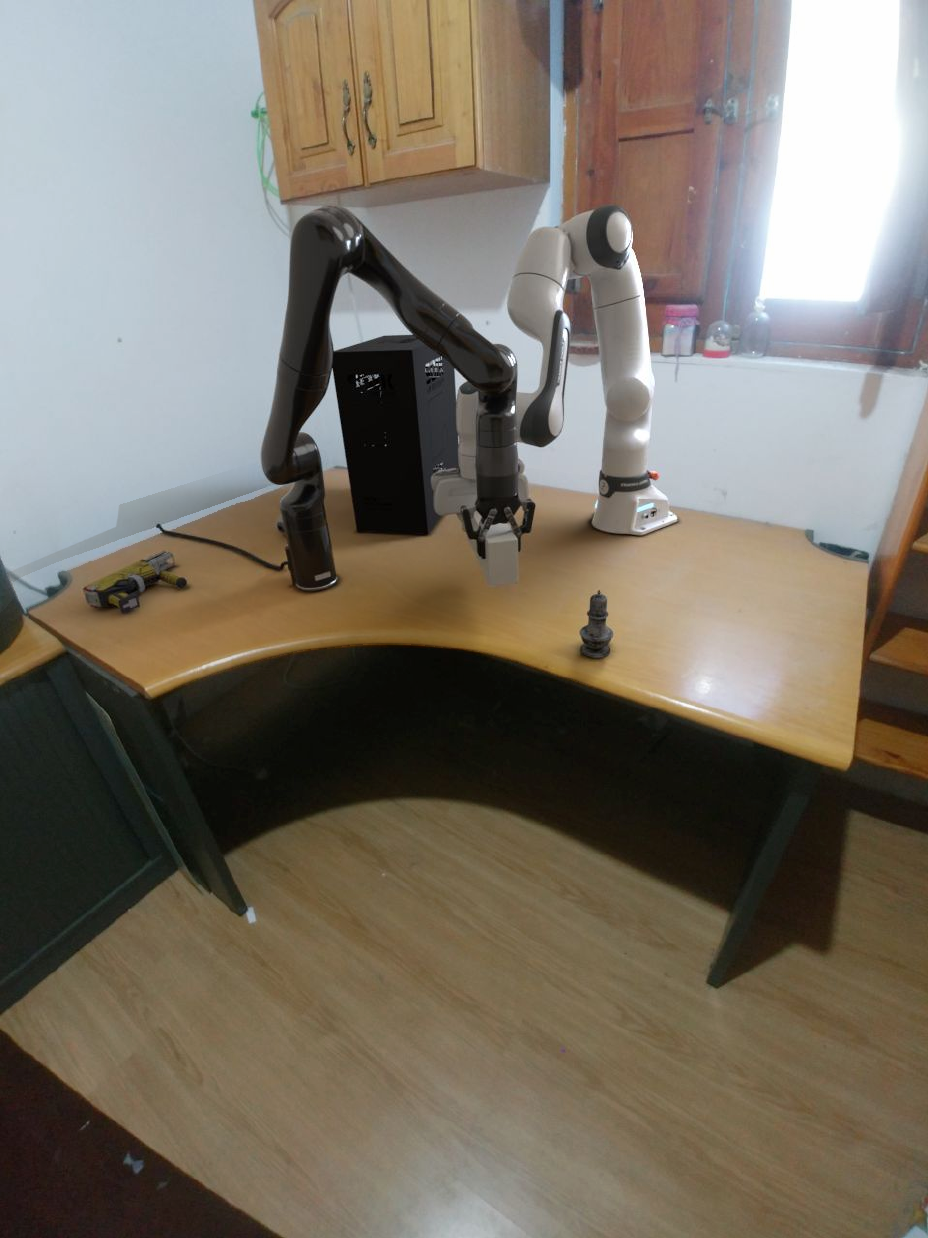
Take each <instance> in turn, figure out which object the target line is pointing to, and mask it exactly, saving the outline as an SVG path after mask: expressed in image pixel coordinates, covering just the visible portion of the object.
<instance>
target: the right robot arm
mask: <svg viewBox="0 0 928 1238" xmlns="http://www.w3.org/2000/svg"><path fill="white" fill-rule="evenodd" d="M632 245H633V226H632V222H631V219H630V217H629V216H628V214H627V212H626V211H625V210H624V209H623V208H622V207H621V206H619V205H617V204H606V205H605V204H604V205H601V206H598V207H596V208H594V209H592V210H588V211H584V212H581V213H579V214H576V215H574V216H573V217H571V218H570V219H568V220H567V221H564V222H562V223H561V224H559V225H556V226H541V227H538V228H536V229H534V230H533V231H532V232H531V233H530V234H529V235H528V237H527V239H526V241H525V243H524V245H523V248H522V250H521V251H520V254H519V256H518V260H517V262H516V266H515V269H514V270H513V271H514V272H513V276H512V278H511V283H510V285H509V289H508V293H507V300H506V310H507V314H508V316H509V319H510V320H511V322H512V324H513V325H514V326H515V327H516V329H518V330H519V331H521V332H522V333H523V334H524V335H526V336H528V337H530V338H531V339H533V340H536V341H537V342H539V343H540V344H541V345H542V357H541V358H542V359H541V367H540V376H539V383H538V387H537V389H536V390H535V391H533V392H520V391H519V392H518V391H517V394H516V406H515V411H516V425H517V426H516V431H517V443H520V444H525V445H529V446H532V447H537V448H545V447H547V446H548V445H550V444H552V443H554V441H555V440H556V439H557V438H558V437H559V436H560V434H561V433H562V431H563V427H564V421H565V393H566V392H565V390H566V382H567V374H568V366H569V357H570V348H571V347H570V346H571V333H572V332H571V330H572V329H571V322H570V321H571V320H570V318H569V316H568V314H566V313H565V312H564V307H563V306H564V305H563V304H564V297H565V294H566V290H567V287H568V286H567V285H568V281H569V280H575V279H580V278H584V277H586V278H587V279H588V280H589V283H590V294H591V303H592V310H593V316H594V323H595V330H596V336H597V343H598V350H599V352H598V353H599V363H600V372H601V373H600V374H601V381H602V391H603V399H604V400H603V401H604V404H605V407H606V410H605V421H604V430H603V438H602V439H603V440H602V453H601V468H600V470H599V474H598V492H599V493H598V498H597V500H596V503H595V505H594V509H595V511H594V514H593V517H592V520H591V525H592V526H593V527H594V528H595V529H597V530H599V531H601V532H605V533H611V534H623V535H625V534H626V535H632V536H633V535H634V536H645V535H646V534H650V533H652V532H654V531H657V530H660V529H662V528H665V527H668V526H670V525H672V524H675V523H677V522H678V516H677V515H676V514H675V513H674V512H672V511H670V503H669V502H670V501H669V498H668V497H667V496H666V495H665V494H664V493H663V492H661V491H660V490H659V489H658V488H656V487H655V486H654V485H652V483H651V480H653V481H658V479H659V478H660V473H659V472H657V471H654V470H651V471H649V470H648V469H647V466H648V458H649V457H648V456H649V447H650V440H651V439H650V436H651V428H652V416H653V406H654V398H655V387H656V381H655V376H654V374H653V369H652V359H651V350H650V349H651V348H650V340H649V339H650V338H649V329H648V320H647V319H648V318H647V311H646V302H645V295H644V288H643V281H642V277H641V272H640V268H639V265H638V260H637V258H636V254H635V252H634V250H633V249H632ZM477 411H478V389H477V388H475V387H474V386H473V385H472V384H470V383H469V382H468V381H467V380H466V381H465V382H463V383H462V384H461V385H459V387H458V389H457V392H456V429H457V433H458V442H459V446H458V465H459V467H458V468H451V469H446V470H444V469H442V468H441V470H438V471H437V472H436V473H434V474H433V475H432V477H431V488H432V490H433V491H434V496H433V505H434V510H435V512H436V513H437V514H438V515H440V516H441V517H443V516H450V515H451V516H452V515H456V517H457V519H458V520H459V522H460V523H461V528H462V529H461V530H462V532H463V533H466V530H465V526H464V522H463V518H462V513H461V509H460V508H461V506H463V505H464V506H466V507H468V506H471V505H475V502H476V500H477V483H476V468H475V463H476V414H477ZM525 465H526V464H525V463H524V462H523V460H521V458H519V457H518V496H519V498H520V500H527V499H531V498H530V497H531V496H530V484H529V480H528V477H527V476H526V474H525V473H524V472H525V471H526V466H525ZM436 474H438V475H436Z"/></svg>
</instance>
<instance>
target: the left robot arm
mask: <svg viewBox="0 0 928 1238" xmlns="http://www.w3.org/2000/svg"><path fill="white" fill-rule="evenodd" d="M289 243H290V245H289V262H288V263H289V265H288V293H287V303H286V308H285V309H286V310H285V315H284V321H283V329H282V336H281V341H280V347H279V352H278V359H277V365H276V366H277V367H276V377H275V383H274V384H275V385H274V392H273V397H272V402H271V408H270V414H269V417H268V421H267V424H266V427H265V431H264V434H263V438H262V442H261V445H260V446H261V447H260V464H261V465H260V466H261V469H262V472H263V475H264V476H265V478H266V479H267V481H269V482H270V483H271V484H274V485H277V486H286V485H289V484H293V485H292V486H291V488H290V489H289V491H288V492H287V493H286V494H285V495H284V496H283V497H281V499H280V501H279V511H280V514H281V515H282V520H283V525H284V529H285V534H284V535H285V539H286V543H287V545H285V547H284V552H285V556H286V560H285V561H282V562H281V563H280V565H275V564H273V563H270V562H268V561H266V560H263V559H262V558H259V557H257V556H256V555H254V554H252V553H251V552H249V551H246V550H243V549H241V548H239V547H238V546H237V547H236V546H235V545H231V544H229V543H226V542H222V541H218V540H214V539H211V538H210V539H209V538H205V537H201V536H195V535H190V534H187V533H180V532H175V531H170V530H167V529H164V527H162V524H160V523H157V524H156V528H155V529H159V531H161V532H162V533H164V534H167V535H171V536H176V537H180V538H186V539H191V540H196V541H200V542H203V543H204V542H205V543H209V544H213V545H217V546H222V547H225V548H227V549H230V550H233V551H236V552H238V553H240V554H243V555H245V556H247V557H249V558H251V559H252V560H254V561H256V562H258V563H260V564H262V565H264V566H266V567H268V568H270V569H273V570H278V571H282V570H283V569H284V568H285V566H287V569H288V571H289V574H290V578H291V583H292V586H294V587H296V589H298V590H300V591H303V592H311V593H312V592H319V591H323V590H324V591H325V590H327V589H330V588H332V587H334V585H336V584H337V583H338V581H339V580H338V575H337V569H336V564H335V558H334V553H333V547H332V541H331V535H330V530H329V524H328V519H327V513H326V512H327V511H326V507H325V499H326V489H325V487H326V486H325V479H324V471H323V464H322V463H323V461H322V458H321V453H320V450H319V447H318V445H317V443H316V441H315V439H314V438H313V437H312V435H310V434H309V433H307V432H305V431H301V430H302V428H303V427H304V425H305V424H306V423H307V421H308V420H309V419H310V417H311V416H312V415H313V413H314V412H315V411H316V410H317V408H318V407H319V405H320V404H321V402H322V401H323V399H324V398H325V396H326V393H327V391H328V388H329V384H330V380H331V376H332V372H333V369H332V367H333V361H334V351H335V350H334V342H333V337H332V333H331V326H330V325H331V323H330V321H331V312H332V307H333V305H334V304H333V303H334V299H335V295H336V292H337V288H338V286H339V283H340V280H341V279H342V277H343V276H345V275H346V274H350V275H352V276H354V277H355V278H358V279H359V280H360V281H362V282H364V283H366V284H367V285H369V287H371V288H372V289H373V290H375V291H376V293H378V295H380V296H381V297H382V299H384V301H385V302H386V303H387V305H388V306H389V307H390V308H391V310H392V311H393V313H394V314H395V316H396V317H397V319H398V320H399V321H400V322H401V324H402V325H403V326H404V327H405V328H406V329H407V331H409V332H410V334H411V335H414V336H415V337H416V338H418V339H419V340H420V341H421V342H423V343H424V344H425V345H427V346H428V347H429V348H431V349H432V350H433V351H434V352H436V353H437V354H439V355H440V356H441V358H442V357H443V358H445V359H446V360H447V361H448V362H449V363H450V364H451V365H452V366H453V367H454V369H455V371H457V372H458V374H460V376H461V377H463V378H464V379H465V381H466V382H467V381H468V382H469V383H470V384H472V385H473V386H474V387H475V388H477V389H478V411H477V414H476V463H475V468H476V483H477V500H476V502H475V505H471V506H468V507H466V506H464V505H463V506H461V508H460V509H461V513H462V518H463V522H464V526H465V530H466V532H465V533H466V537H467V536H468V538H469V539H470V540H472V539H474V540H476V544H477V553H478V555H479V557H481V558H482V559H486V550H485V540H484V539H485V536H486V534H487V532H488V531H489V529H490V526H491V525H496V524H499V523H502V524H506V523H507V524H508V525H509V527H510V528H511V530H512V531H513V533H514V534H515V536H516V537H517V539H518V553H520V552H521V550H522V536H523V535H525V534H530V533H531V531H532V527H533V522H534V517H535V510H536V506H537V505H536V503H535V502H534V500H533V499H532V498H530V499H527V500H520V498H519V496H518V458H519V451H518V442H517V431H516V426H517V425H516V411H515V406H516V394H517V392H518V375H519V374H518V372H519V371H518V370H519V369H518V360H517V357H516V355H515V353H514V351H512V349H511V348H510V347H508V346H507V345H505V344H503V343H492V342H491V341H489V339H487V338H486V337H484V335H482V333H479V331H478V330H476V329H475V328H474V326H473V324H472V323H471V321H470V320H469V319H468V318H467V317H466V316H465V315H463V314H462V313H461V312H459V311H458V310H457V309H456V308H455V307H454V306H452V305H451V304H449V303H448V302H447V301H446V300H444V299H443V298H442V297H441V296H440V295H438V294H437V293H436V292H434V291H433V290H431V289H430V288H429V287H428V286H427V285H425V283H423V282H422V281H421V280H419V279H418V278H417V276H415V275H414V274H413V273H412V272H411V271H410V270H409V269H407V267H406V266H405V265H404V264H403V263H401V261H399V259H398V258H396V257H395V255H394V254H392V253H391V251H389V250H388V248H387V247H386V246H385V245H384V244H383V243H382V242H381V241H380V240H379V238H377V237H376V236H375V235H374V234H373V232H371V230H370V229H369V228H368V227H367V226H366V225H365V224H364V222H362V220H360V218H358V216H356V215H355V214H354V212H352V211H351V210H350V209H348V208H346V207H344V206H343V205H339V204H326V205H323V206H321V207H318V208H315V209H313V210H311V211H309V212H306V213H304V214H302V216H301V217H299V218H298V220H297V221H296V222H295V224H294V226H293V229H292V232H291V236H290V242H289ZM520 507H521V510H522V511H523V516H522V521H521V525H519V524H518V522H517V520H516V518H515V515H516V514H517V512H518V511H519V509H520ZM475 511H477V512H478V513H479V514H480V515H481V516H482V517H481V519H480V522H479V527H478V529H477V531H474V530H473V526H472V522H471V518H473V517H474V512H475ZM487 524H488V525H487Z"/></svg>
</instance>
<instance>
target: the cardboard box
mask: <svg viewBox="0 0 928 1238" xmlns="http://www.w3.org/2000/svg"><path fill="white" fill-rule="evenodd" d="M433 361H434V363H433ZM332 375H333V381H334V382H333V383H334V388H335V396H336V401H337V408H338V415H339V422H340V426H341V427H340V429H341V436H342V441H343V449H344V456H345V461H346V468H347V475H348V481H349V482H348V483H349V488H350V495H351V496H350V497H351V501H352V508H353V515H354V522H355V528H356V532H358V533H379V534H402V535H406V534H407V535H425V536H426V535H427V536H428V535H430V534H431V532H432V530H433V529H434V527H435V526H436V525H437V523H438V522H439V521H440V519H441V518H442V516H440V515H438V514H437V513H436V512H435V510H434V505H433V496H434V491H433V490H432V488H431V477H432V475H433V474H434V473H436V472H437V471H438V470H441V469H444V470H446V469H451V468H458V467H459V465H458V446H459V436H458V433H457V429H456V400H457V391H456V390H457V389H456V388H457V387H456V369H455V368H454V367H453V366H452V365H451V364H450V363H449V362H448V361H447V360H446V359H445V358H443V357H442V356H440V355H439V354H437V353H436V352H434V351H433V350H432V349H431V348H429V347H428V346H427V345H425V344H424V343H423V342H421V341H420V340H419V339H418V338H416V337H415V336H414V335H413V334H391V335H388V334H387V335H382V336H381V335H380V336H378V337H375V338H372V339H368V340H365V341H361V342H359V343H356V344H353V345H349V346H345V347H343V348H342V347H341V348H339V349H336V350H334V361H333V367H332ZM436 475H438V474H436Z"/></svg>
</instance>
